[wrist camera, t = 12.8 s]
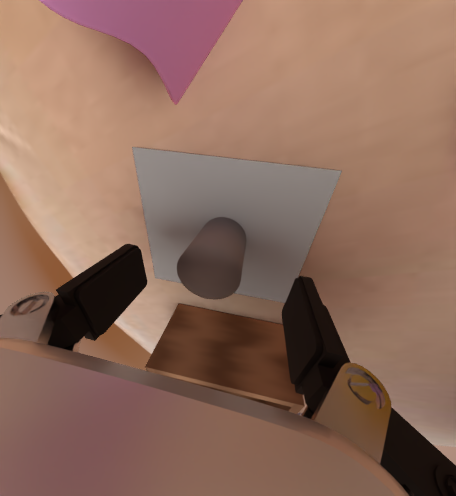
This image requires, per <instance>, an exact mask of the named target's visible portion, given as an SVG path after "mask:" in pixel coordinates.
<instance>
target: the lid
mask: <svg viewBox="0 0 456 496" xmlns="http://www.w3.org/2000/svg"><path fill="white" fill-rule="evenodd" d="M132 149H133V155H134V160H135V166H136V172H137V177H138V183H139V188H140V194H141V200H142V205H143V211H144V217H145V222H146V228H147V234H148V239H149V245H150V251H151V256H152V262H153V267H154V273H155V278H157V279H162V280H168V281H173V282H178V283H182V284H183V285H184V286H185V287H186V288H187V289H188V290H189V291H191V292H192V293H194V294H196V295H198V296H200V297H203V298H207V299H222V298H226V297H228V296H230V295H232V294H233V293H235V294H241V295H246V296H251V297H256V298H261V299H267V300H272V301H277V302H282V303H285V302H286V300H287V297H288V295H289V293H290V290H291V288H292V285H293V283H294V280H295V278H298V276H299V273H300V271H301V269H302V266H303V264H304V261H305V259H306V257H307V254H308V252H309V249H310V247H311V245H312V242H313V240H314V237H315V235H316V232H317V230H318V228H319V225H320V223H321V220H322V218H323V216H324V213H325V211H326V208H327V206H328V203H329V201H330V199H331V196H332V194H333V191H334V189H335V187H336V184H337V182H338V179H339V177H340V175H341V172H342V171H340V170H331V169H322V168H313V167H305V166H296V165H287V164H278V163H270V162H261V161H252V160H243V159H234V158H226V157H217V156H208V155H199V154H191V153H182V152H173V151H164V150H155V149H147V148H138V147H132Z"/></svg>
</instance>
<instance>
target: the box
mask: <svg viewBox="0 0 456 496" xmlns="http://www.w3.org/2000/svg"><path fill="white" fill-rule="evenodd" d="M145 368H146V371H148V372H152V373H155V374H159V375H163V376H166V377H170V378H174V379H177V380H181V381H185V382H188V383H192V384H196V385H199V386H203V387H206V388H210V389H214V390H217V391H221V392H224V393H228V394H232V395H235V396H239V397H242V398H246V399H249V400H253V401H256V402H259V403H263V404H266V405H269V406H273V407H276V408H279V409H283V410H286V411H289V412H292V413H295V414H298V413H299V412H300V411H301V410H302V408H303V407H304V406H305V405H304V399H303V395H302V394H298V393H296V392H295V385H294V384H292V383H291V381H290V374H289V367H288V359H287V351H286V344H285V336H284V328H283V325H281V324H276V323H272V322H267V321H262V320H257V319H252V318H247V317H242V316H237V315H232V314H228V313H223V312H218V311H213V310H208V309H203V308H198V307H193V306H188V305H184V304H178V306H177V308H176V310H175V312H174V314H173V316H172V317H171V319H170V321H169V323H168V325H167V327H166V329H165V331H164V332H163V334H162V336H161V338H160V340H159V342H158V344H157V345H156V347H155V349H154V351H153V353H152V355H151V357H150V359H149V361H148V362H147V364H146V366H145Z"/></svg>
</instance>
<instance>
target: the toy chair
mask: <svg viewBox="0 0 456 496" xmlns="http://www.w3.org/2000/svg"><path fill="white" fill-rule="evenodd" d="M39 1H41V2H42V3H43V4H45V5H46V6H47V7H48V8H50V9H51V10H53V11H54V12H56V13H58V14H59V15H61V16H62V17H64V18H66V19H68V20H71V21H73V22H75V23H77V24H79V25H82V26H85V27H88V28H91V29H94V30H97V31H100V32H103V33H105V34H108V35H111V36H114V37H116V38H118V39H120V40H122V41H124V42H127V43H129V44H131V45H132V46H134V47H135V48H136V49H138V50H139V51H140V52H142V53H143V54H144V55H145V56H146V57H147V58H148V59H149V60H150V62H151V63H152V64H153V66H154V67H155V69H156V70H157V72H158V74H159V75H160V77H161V79H162V81H163V83H164V85H165V87H166V89H167V92H168V94H169V96H170V98H171V100H172V101H173V102H174V103H175V105H176V104H177V103H178V102H179V100H180V99H181V97H182V96H183V94H184V93H185V91H186V89H187V88H188V86H189V85H190V83H191V82H192V80H193V78H194V77H195V75H196V74H197V72H198V70H199V69H200V67H201V66H202V64H203V63H204V61H205V59H206V58H207V56H208V55H209V53H210V51H211V50H212V48H213V47H214V45H215V44H216V42H217V40H218V39H219V37H220V36H221V34H222V32H223V31H224V29H225V28H226V26H227V25H228V23H229V21H230V20H231V18H232V17H233V15H234V13H235V12H236V10H237V9H238V7H239V6H240V4H241V2H242V1H243V0H39Z"/></svg>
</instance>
